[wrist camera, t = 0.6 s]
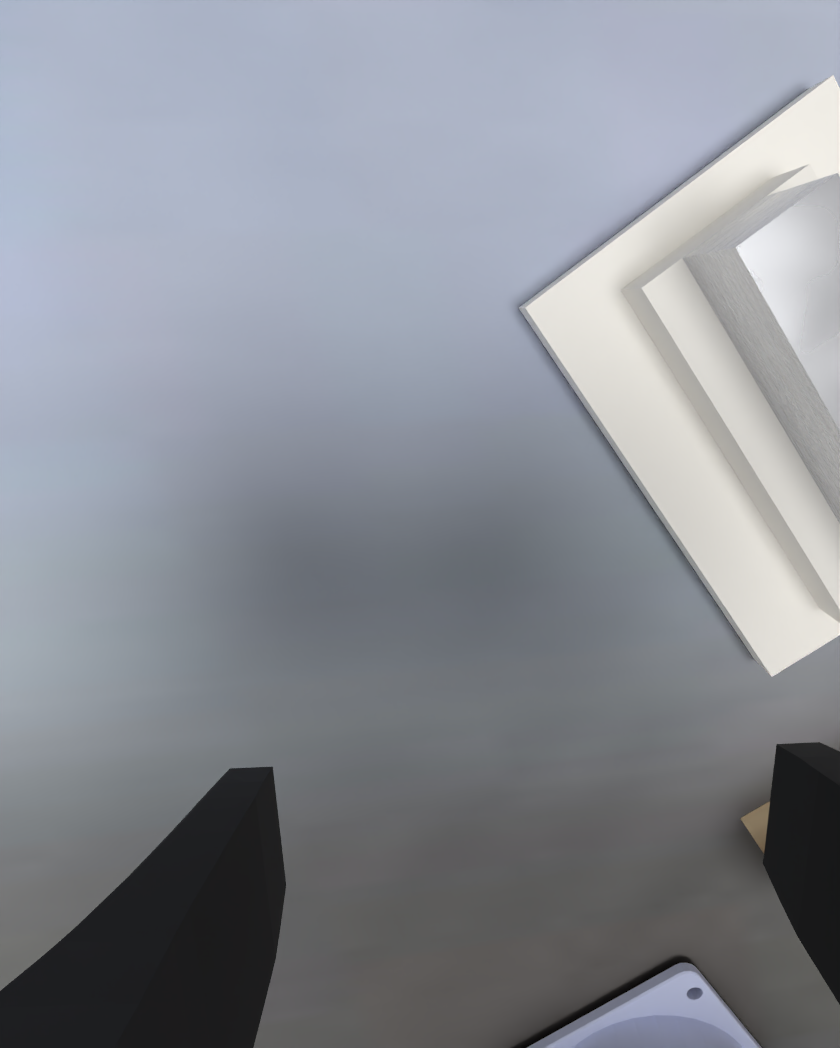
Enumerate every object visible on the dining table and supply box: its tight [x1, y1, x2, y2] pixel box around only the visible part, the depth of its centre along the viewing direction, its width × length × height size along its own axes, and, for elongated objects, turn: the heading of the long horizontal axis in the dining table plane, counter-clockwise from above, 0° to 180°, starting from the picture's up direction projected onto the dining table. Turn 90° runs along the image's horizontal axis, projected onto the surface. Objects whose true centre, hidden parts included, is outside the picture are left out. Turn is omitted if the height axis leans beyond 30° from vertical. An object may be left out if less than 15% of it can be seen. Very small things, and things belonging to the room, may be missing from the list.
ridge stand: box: [519, 76, 840, 677], centre depth 16 cm, size 12×8×5 cm, turn 37°
